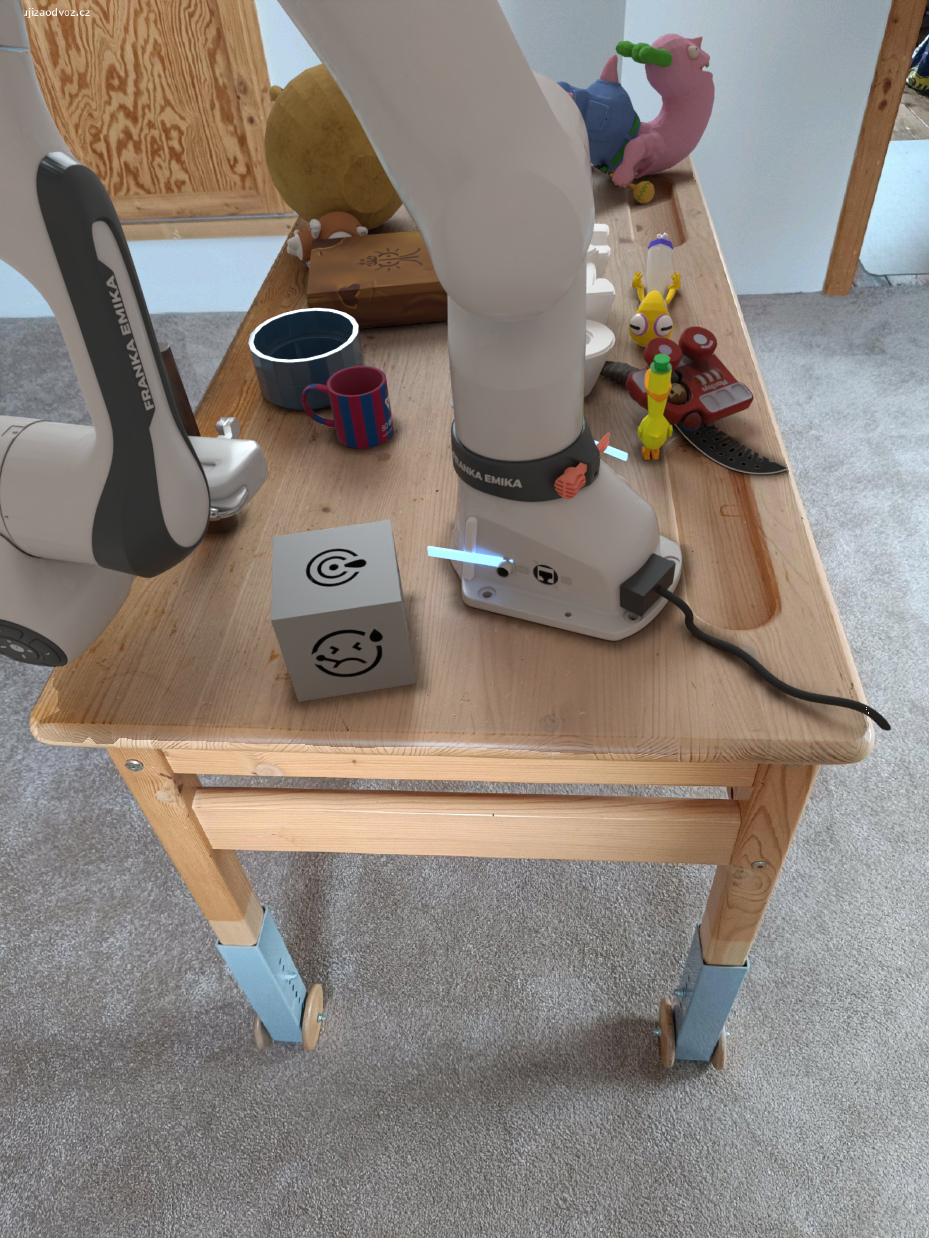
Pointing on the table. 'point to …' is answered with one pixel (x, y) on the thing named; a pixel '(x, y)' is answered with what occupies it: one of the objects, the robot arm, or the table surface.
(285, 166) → the tan rounded lump
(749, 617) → the table surface
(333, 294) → the carved wooden box
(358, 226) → the figurine
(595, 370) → the wavy white extrusion
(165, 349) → the cylinder
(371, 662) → the icon cube
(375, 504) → the table surface
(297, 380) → the bowl
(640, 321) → the character
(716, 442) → the knife
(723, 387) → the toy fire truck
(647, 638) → the table surface
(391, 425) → the cup
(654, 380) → the toy figure
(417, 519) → the table surface
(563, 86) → the toy
